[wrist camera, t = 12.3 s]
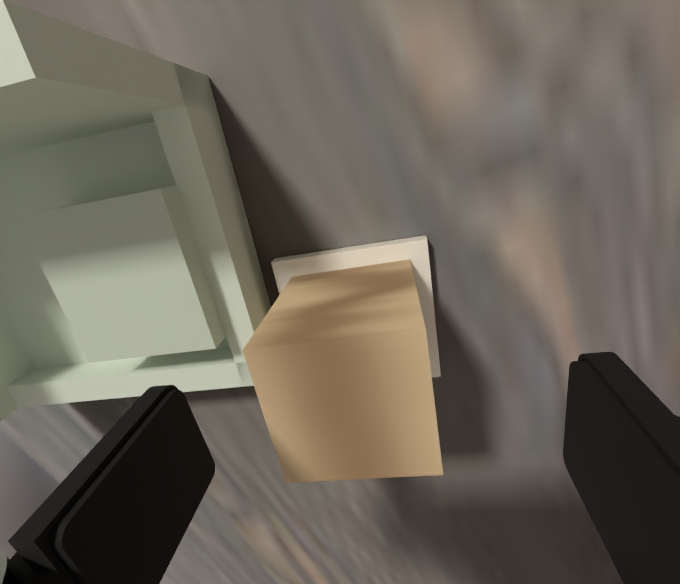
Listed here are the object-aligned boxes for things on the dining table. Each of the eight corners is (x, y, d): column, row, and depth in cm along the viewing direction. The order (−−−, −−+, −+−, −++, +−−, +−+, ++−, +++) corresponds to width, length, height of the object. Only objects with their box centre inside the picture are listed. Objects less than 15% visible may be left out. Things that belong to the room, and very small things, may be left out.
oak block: (409, 259, 15) (425, 329, 9) (423, 363, 17) (443, 474, 11) (291, 276, 16) (242, 350, 10) (316, 374, 17) (285, 482, 12)
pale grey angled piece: (207, 76, 14) (2, -2, 6) (284, 352, 18) (214, 501, 10) (-88, 149, 16) (-490, 155, 9) (42, 378, 20) (-153, 514, 13)
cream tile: (425, 235, 15) (427, 238, 14) (439, 369, 17) (441, 376, 17) (274, 258, 16) (270, 262, 16) (306, 381, 18) (304, 388, 18)
